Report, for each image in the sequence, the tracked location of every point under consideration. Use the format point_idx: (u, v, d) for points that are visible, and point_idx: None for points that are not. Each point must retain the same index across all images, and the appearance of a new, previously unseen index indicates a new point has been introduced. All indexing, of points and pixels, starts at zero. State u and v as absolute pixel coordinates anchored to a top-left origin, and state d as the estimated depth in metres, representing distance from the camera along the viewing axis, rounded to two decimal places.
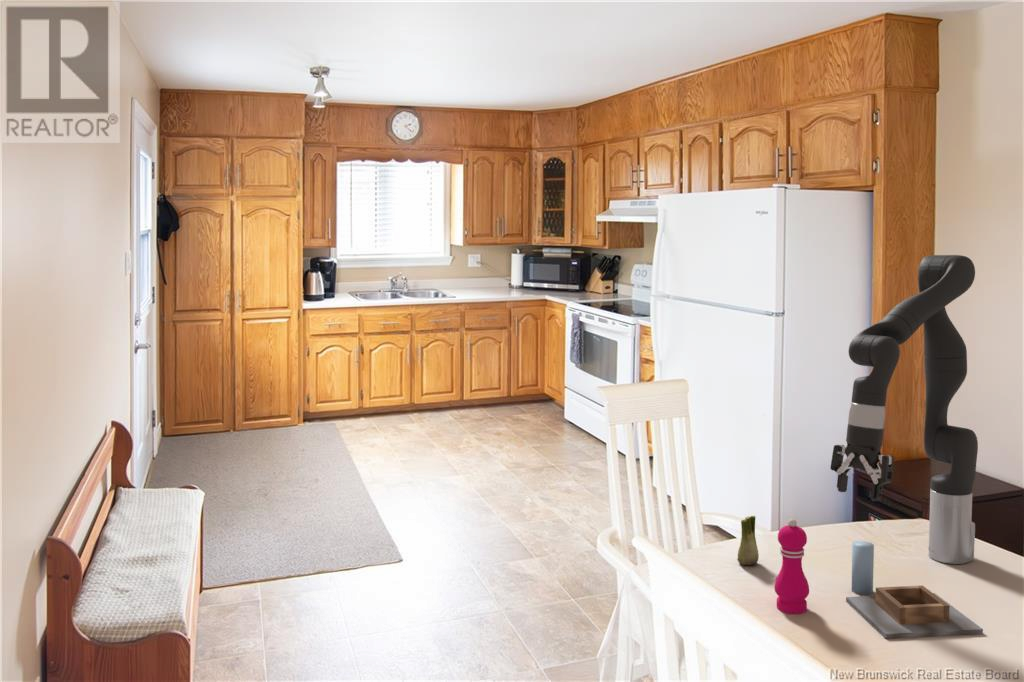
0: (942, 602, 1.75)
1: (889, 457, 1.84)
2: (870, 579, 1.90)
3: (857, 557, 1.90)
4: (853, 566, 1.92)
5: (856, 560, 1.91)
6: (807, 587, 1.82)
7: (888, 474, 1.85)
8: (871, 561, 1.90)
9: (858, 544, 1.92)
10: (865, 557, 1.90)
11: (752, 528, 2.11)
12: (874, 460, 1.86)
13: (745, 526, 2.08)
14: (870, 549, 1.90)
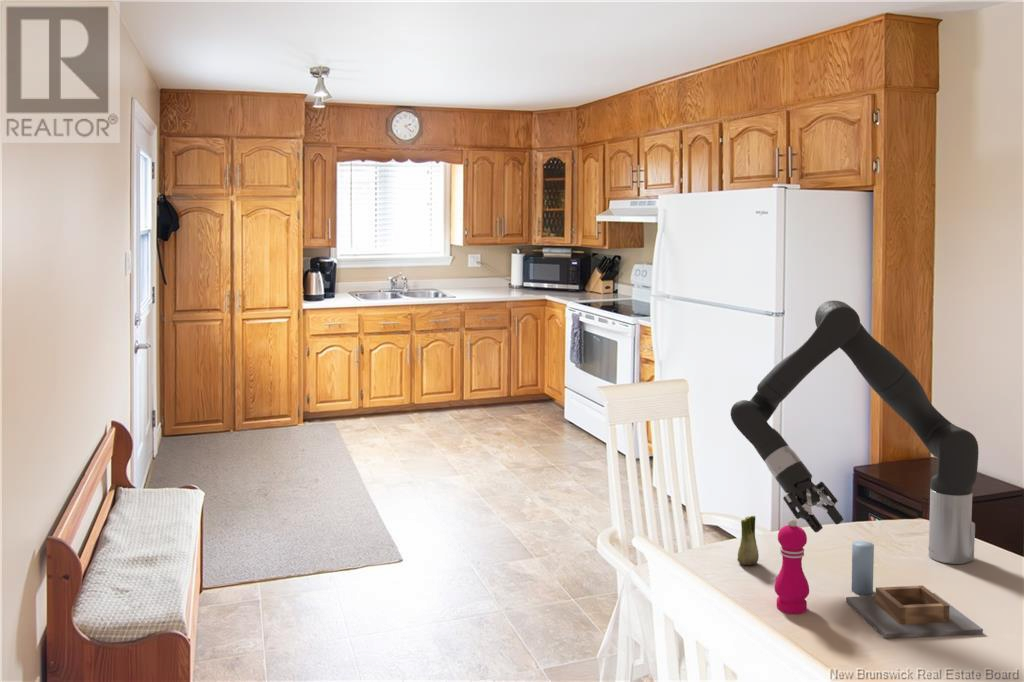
0: (942, 602, 1.75)
1: (786, 496, 1.99)
2: (870, 579, 1.90)
3: (857, 557, 1.90)
4: (853, 566, 1.92)
5: (856, 560, 1.91)
6: (807, 587, 1.82)
7: None
8: (871, 561, 1.90)
9: (858, 544, 1.92)
10: (865, 557, 1.90)
11: (752, 528, 2.11)
12: None
13: (745, 526, 2.08)
14: (870, 549, 1.90)
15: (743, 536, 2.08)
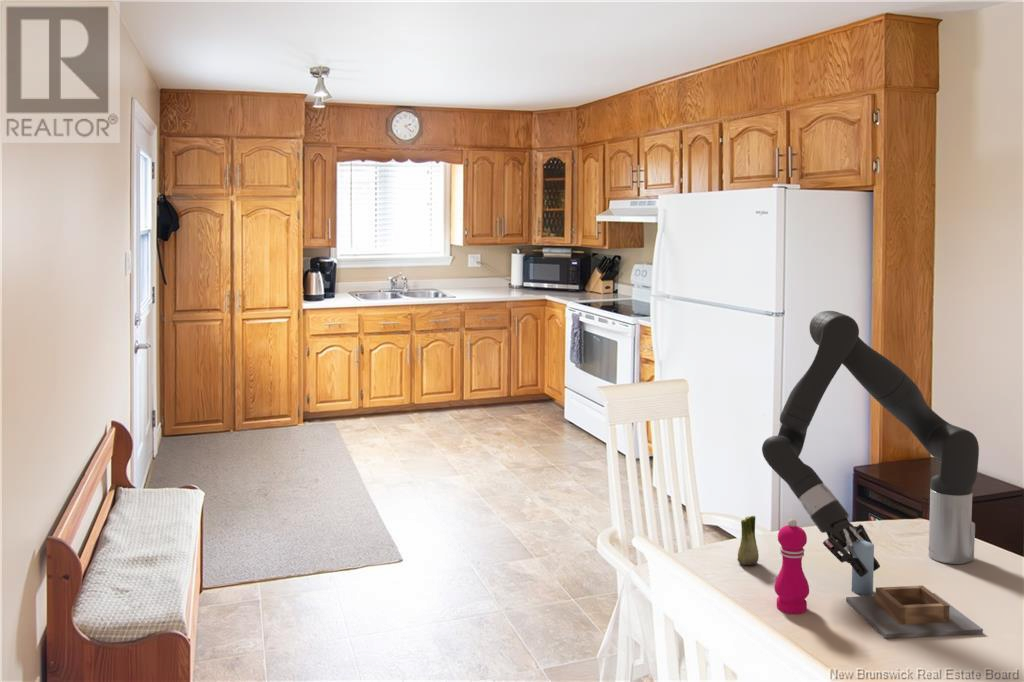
0: (942, 602, 1.75)
1: (826, 542, 1.91)
2: (870, 579, 1.90)
3: (857, 557, 1.90)
4: None
5: None
6: (807, 587, 1.82)
7: None
8: (871, 561, 1.90)
9: (858, 544, 1.91)
10: (865, 557, 1.90)
11: (752, 528, 2.11)
12: None
13: (745, 526, 2.08)
14: (870, 549, 1.90)
15: (743, 536, 2.08)
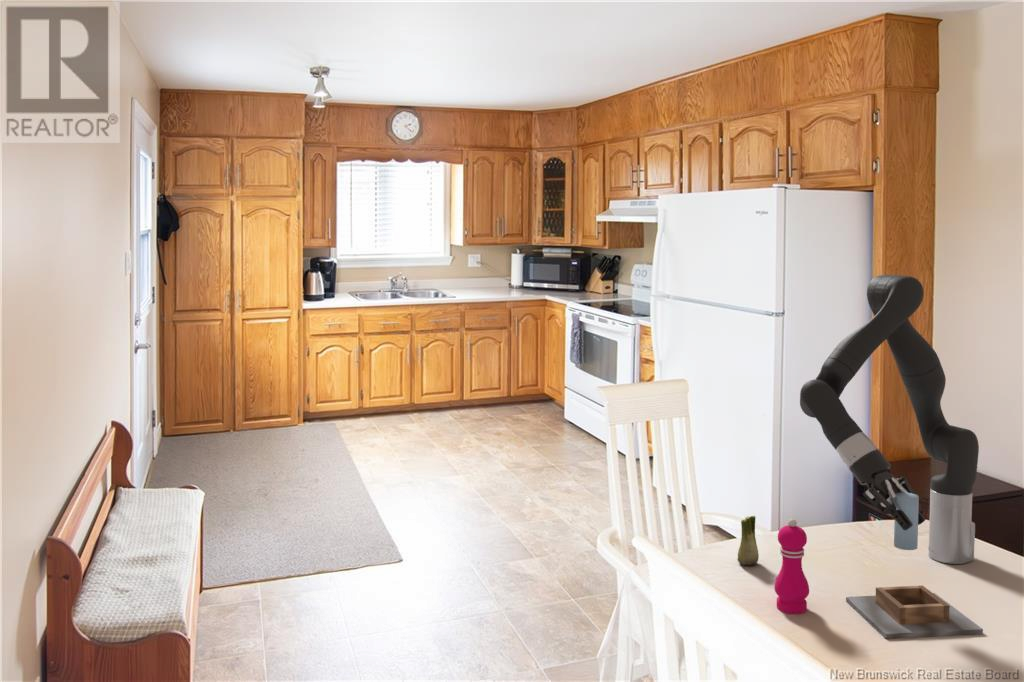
0: (942, 602, 1.75)
1: (867, 493, 1.78)
2: (914, 533, 1.76)
3: (901, 509, 1.76)
4: None
5: None
6: (807, 587, 1.82)
7: None
8: (916, 513, 1.76)
9: (901, 495, 1.78)
10: (909, 508, 1.76)
11: (752, 528, 2.11)
12: None
13: (745, 526, 2.08)
14: (915, 500, 1.76)
15: (743, 536, 2.08)
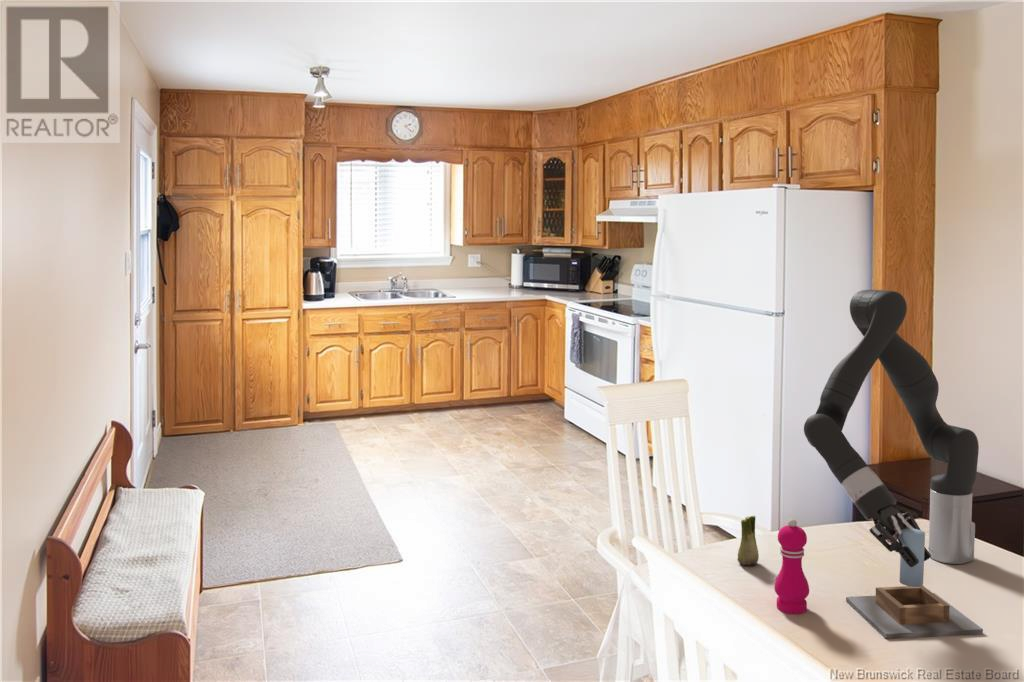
0: (942, 602, 1.75)
1: (873, 529, 1.77)
2: (920, 569, 1.76)
3: (907, 546, 1.76)
4: None
5: None
6: (807, 587, 1.82)
7: None
8: (922, 550, 1.75)
9: (908, 532, 1.77)
10: (915, 545, 1.75)
11: (752, 528, 2.11)
12: None
13: (745, 526, 2.08)
14: (921, 537, 1.75)
15: (743, 536, 2.08)
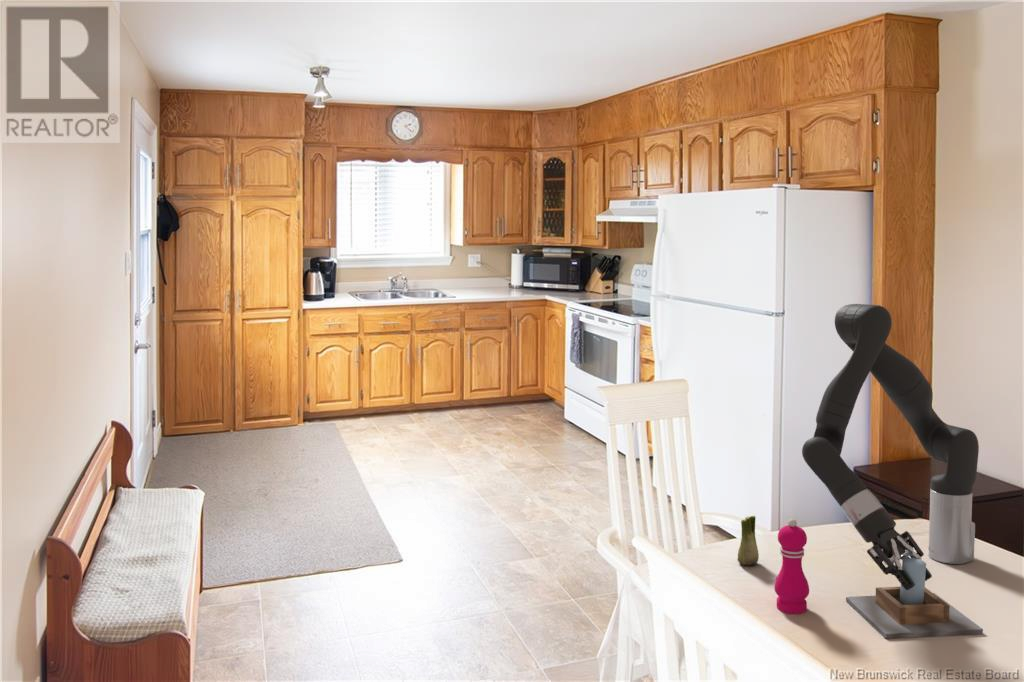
0: (942, 602, 1.75)
1: (870, 550, 1.78)
2: (920, 600, 1.76)
3: None
4: None
5: None
6: (807, 587, 1.82)
7: None
8: (923, 581, 1.76)
9: (909, 562, 1.77)
10: (916, 576, 1.75)
11: (752, 528, 2.11)
12: None
13: (745, 526, 2.08)
14: (922, 568, 1.75)
15: (743, 536, 2.08)
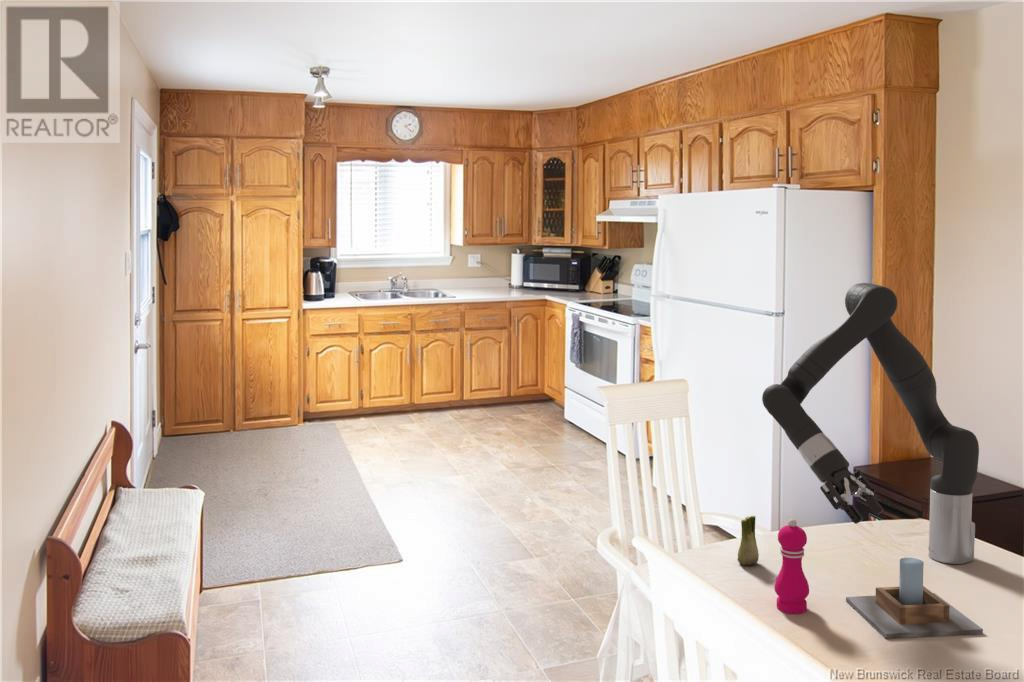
0: (942, 602, 1.75)
1: (823, 486, 1.88)
2: (919, 599, 1.77)
3: (905, 575, 1.77)
4: (901, 585, 1.78)
5: (905, 579, 1.77)
6: (807, 587, 1.82)
7: None
8: (921, 580, 1.76)
9: (906, 561, 1.78)
10: (914, 575, 1.76)
11: (752, 528, 2.11)
12: None
13: (745, 526, 2.08)
14: (920, 566, 1.76)
15: (743, 536, 2.08)
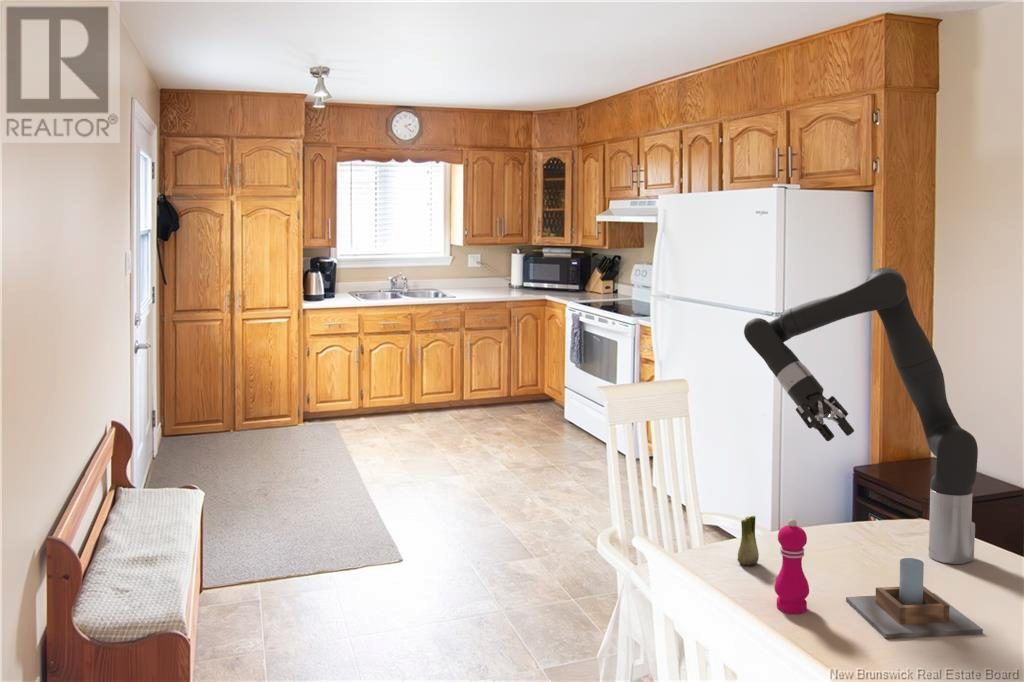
0: (942, 602, 1.75)
1: (798, 407, 2.04)
2: (919, 599, 1.76)
3: (905, 576, 1.77)
4: (901, 585, 1.78)
5: (904, 579, 1.77)
6: (807, 587, 1.82)
7: None
8: (921, 580, 1.76)
9: (906, 562, 1.78)
10: (914, 575, 1.76)
11: (752, 528, 2.11)
12: None
13: (745, 526, 2.08)
14: (920, 567, 1.76)
15: (743, 536, 2.08)
